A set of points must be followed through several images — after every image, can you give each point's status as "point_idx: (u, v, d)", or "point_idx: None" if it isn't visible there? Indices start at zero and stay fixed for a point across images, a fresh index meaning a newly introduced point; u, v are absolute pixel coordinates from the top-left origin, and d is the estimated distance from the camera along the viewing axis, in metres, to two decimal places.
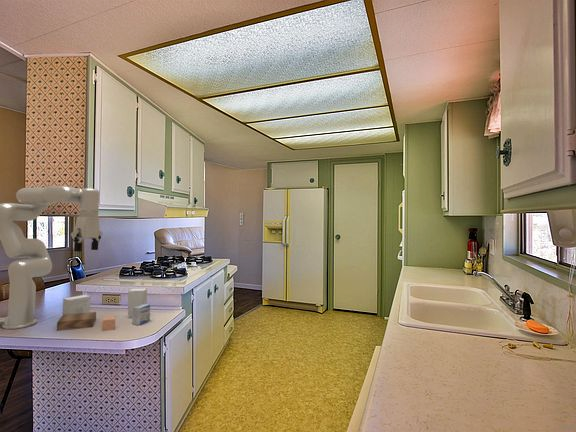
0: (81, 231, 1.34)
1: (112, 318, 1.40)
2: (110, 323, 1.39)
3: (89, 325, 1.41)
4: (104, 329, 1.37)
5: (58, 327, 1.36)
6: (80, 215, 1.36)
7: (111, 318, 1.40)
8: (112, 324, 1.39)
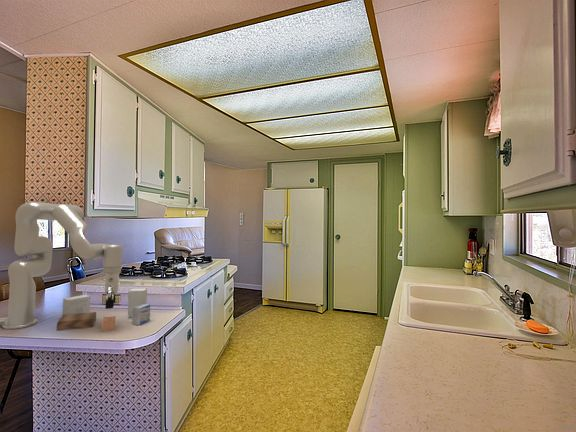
0: None
1: (112, 318, 1.40)
2: (110, 323, 1.39)
3: (89, 325, 1.41)
4: (104, 329, 1.37)
5: (58, 327, 1.36)
6: None
7: (111, 318, 1.40)
8: (112, 324, 1.39)
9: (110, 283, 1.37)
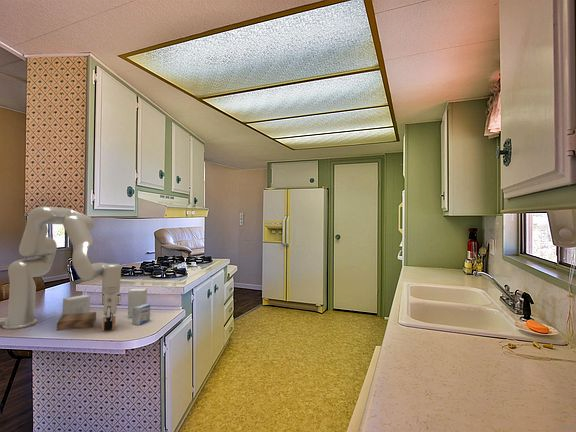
0: None
1: (112, 318, 1.40)
2: None
3: (89, 325, 1.41)
4: None
5: (58, 327, 1.36)
6: None
7: None
8: (112, 324, 1.39)
9: (109, 303, 1.36)
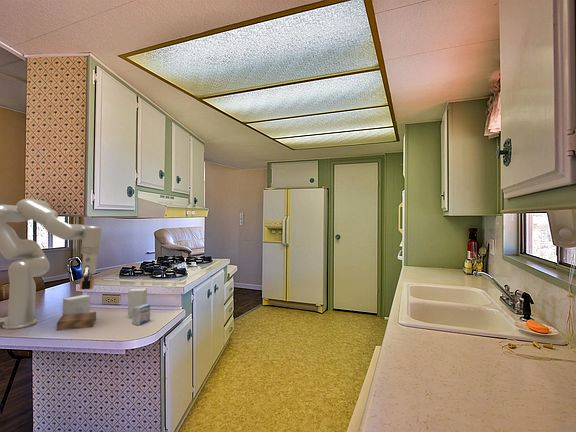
0: None
1: (91, 278, 1.44)
2: None
3: (89, 325, 1.41)
4: None
5: (58, 327, 1.36)
6: None
7: (90, 278, 1.44)
8: (90, 283, 1.42)
9: (87, 263, 1.40)
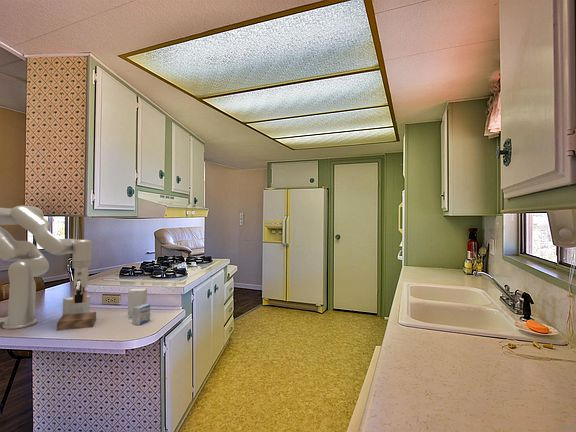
0: None
1: (83, 291, 1.44)
2: None
3: (89, 325, 1.41)
4: None
5: (58, 327, 1.36)
6: None
7: None
8: (83, 297, 1.43)
9: (78, 277, 1.40)
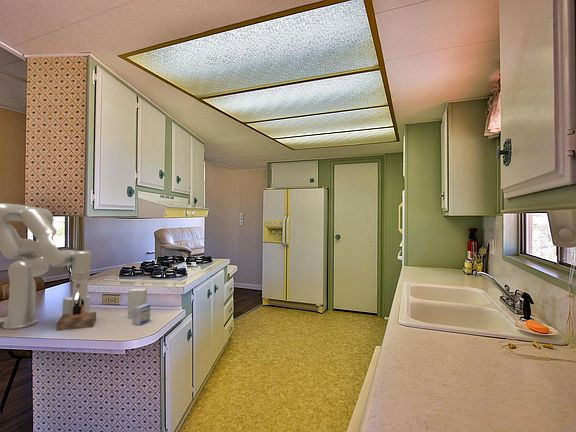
0: None
1: (81, 306, 1.44)
2: None
3: (89, 325, 1.41)
4: (73, 317, 1.41)
5: (58, 327, 1.36)
6: None
7: None
8: (81, 312, 1.43)
9: (77, 289, 1.40)
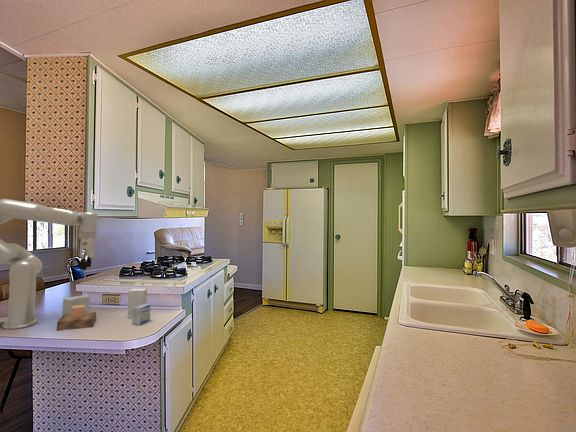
0: None
1: (81, 306, 1.44)
2: (79, 311, 1.42)
3: (89, 325, 1.41)
4: (73, 317, 1.41)
5: (58, 327, 1.36)
6: None
7: (80, 306, 1.44)
8: (81, 312, 1.43)
9: (84, 246, 1.49)
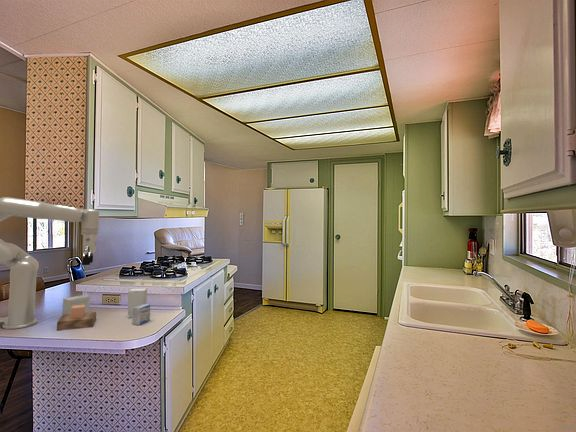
0: None
1: (81, 306, 1.44)
2: (79, 311, 1.42)
3: (89, 325, 1.41)
4: (73, 317, 1.41)
5: (58, 327, 1.36)
6: None
7: (80, 306, 1.44)
8: (81, 312, 1.43)
9: (87, 242, 1.53)
